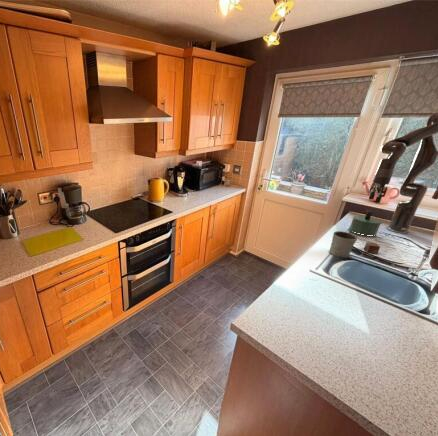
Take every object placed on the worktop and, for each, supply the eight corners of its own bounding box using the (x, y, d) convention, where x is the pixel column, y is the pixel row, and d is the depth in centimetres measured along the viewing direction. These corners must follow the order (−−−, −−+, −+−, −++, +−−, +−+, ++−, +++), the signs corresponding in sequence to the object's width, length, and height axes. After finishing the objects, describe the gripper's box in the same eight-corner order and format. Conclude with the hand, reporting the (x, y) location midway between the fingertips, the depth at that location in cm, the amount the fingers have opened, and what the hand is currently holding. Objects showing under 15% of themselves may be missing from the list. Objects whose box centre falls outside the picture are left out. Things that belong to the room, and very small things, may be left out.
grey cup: (344, 251, 133) (351, 232, 129) (354, 260, 124) (361, 240, 120) (324, 248, 136) (330, 230, 131) (332, 257, 127) (339, 238, 122)
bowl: (348, 215, 162) (351, 206, 160) (375, 218, 157) (378, 209, 155) (357, 223, 150) (360, 213, 147) (386, 226, 144) (390, 216, 142)
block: (363, 248, 136) (366, 241, 134) (373, 250, 134) (376, 243, 132) (367, 252, 132) (369, 245, 130) (377, 253, 130) (380, 246, 129)
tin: (346, 227, 165) (350, 215, 161) (370, 230, 160) (375, 217, 157) (353, 235, 153) (358, 222, 150) (379, 238, 148) (385, 225, 145)
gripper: (397, 178, 135) (387, 204, 141) (385, 174, 147) (376, 198, 153) (380, 177, 138) (371, 203, 144) (370, 173, 150) (361, 197, 156)
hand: (373, 200), depth 148 cm, fingers open, 8 cm apart
